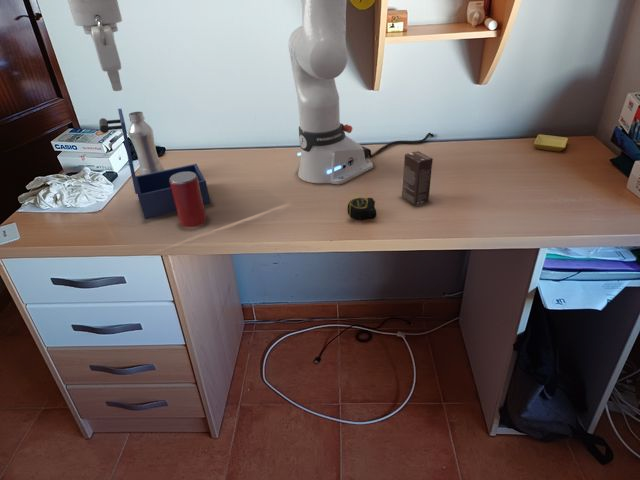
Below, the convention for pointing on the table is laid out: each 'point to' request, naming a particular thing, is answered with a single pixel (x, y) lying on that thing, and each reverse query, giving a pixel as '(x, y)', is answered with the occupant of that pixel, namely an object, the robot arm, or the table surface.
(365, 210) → the tape measure
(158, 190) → the box
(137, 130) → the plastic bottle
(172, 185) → the can
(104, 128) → the lid
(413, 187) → the box
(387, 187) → the table surface
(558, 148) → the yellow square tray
